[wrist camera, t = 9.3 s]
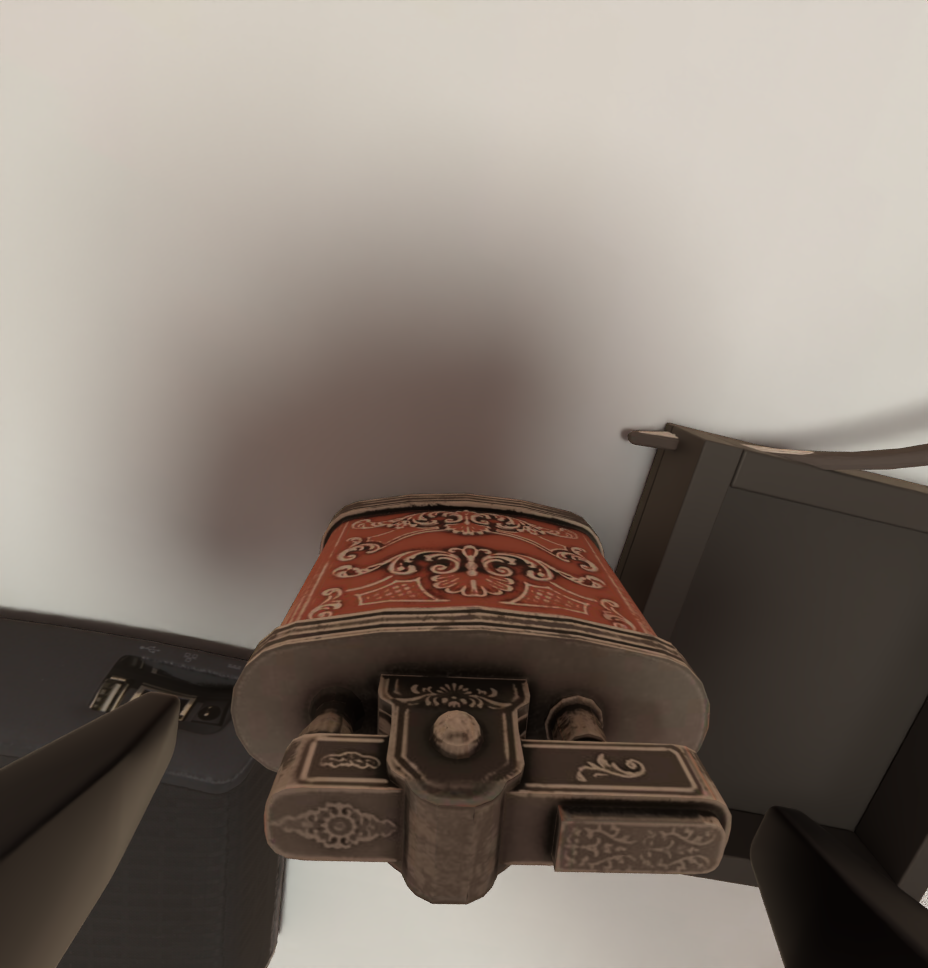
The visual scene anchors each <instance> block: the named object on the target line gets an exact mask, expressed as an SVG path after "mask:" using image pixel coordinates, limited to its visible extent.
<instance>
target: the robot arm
mask: <svg viewBox="0 0 928 968" xmlns="http://www.w3.org/2000/svg"><path fill="white" fill-rule="evenodd" d="M179 713H180V699H179V698H178V697H177V696H176V695H171V694H165V693H160V692H147V693H145V694H143V695H141V696H139V697H137V698H135V699H133V700H131V701H129V702H127V703H125V704H124V705H122V706H120V707H118V708H116V709H114V710H112V711H110V712H108V713H106V714H104V715H102V716H100V717H99V718H97V719H95V720H93V721H91V722H89V723H87V724H85V725H83V726H81V727H79V728H77V729H76V730H74V731H72V732H70V733H68V734H66V735H64V736H62V737H60V738H58V739H56V740H54V741H52V742H51V743H49V744H47V745H45V746H43V747H41V748H39V749H37V750H35V751H33V752H31V753H29V754H27V755H26V756H24V757H22V758H20V759H18V760H16V761H14V762H12V763H10V764H8V765H6V766H4V767H3V768H1V769H0V968H56V967H57V965H58V963H59V962H60V960H61V959H62V957H63V955H64V954H65V952H66V951H67V949H68V947H69V946H70V944H71V943H72V941H73V939H74V938H75V936H76V935H77V933H78V931H79V930H80V928H81V927H82V925H83V923H84V922H85V920H86V919H87V917H88V915H89V914H90V912H91V911H92V909H93V907H94V906H95V904H96V903H97V901H98V899H99V898H100V896H101V894H102V893H103V891H104V889H105V888H106V886H107V884H108V883H109V881H110V879H111V877H112V876H113V874H114V872H115V870H116V868H117V866H118V864H119V862H120V860H121V858H122V857H123V855H124V853H125V851H126V849H127V847H128V845H129V843H130V841H131V839H132V837H133V835H134V833H135V831H136V829H137V827H138V825H139V823H140V821H141V819H142V817H143V815H144V813H145V811H146V809H147V807H148V805H149V803H150V801H151V799H152V797H153V795H154V793H155V791H156V789H157V787H158V785H159V783H160V781H161V779H162V777H163V775H164V773H165V770H166V768H167V766H168V764H169V762H170V760H171V758H172V755H173V752H174V749H175V744H176V737H177V729H178V721H179ZM750 861H751V865H752V868H753V871H754V874H755V877H756V880H757V883H758V887H759V890H760V893H761V896H762V899H763V902H764V905H765V908H766V911H767V914H768V917H769V920H770V924H771V927H772V930H773V933H774V936H775V939H776V942H777V945H778V948H779V951H780V954H781V958H782V961H783V963H784V966H785V968H928V909H927V908H925V907H924V906H923V905H921V904H920V903H919V902H918V901H916V900H915V899H914V898H912V897H911V896H910V895H909V894H907V893H906V892H905V891H903V890H902V889H901V888H900V887H898V886H897V885H896V884H894V883H893V882H892V881H891V880H889V879H888V878H887V877H885V876H884V875H883V874H882V873H880V872H879V871H878V870H876V869H875V868H874V867H873V866H871V865H870V864H869V863H867V862H866V861H865V860H864V859H862V858H861V857H860V856H858V855H857V854H856V853H855V852H853V851H852V850H851V849H849V848H848V847H847V846H846V845H844V844H843V843H842V842H840V841H839V840H838V839H837V838H835V837H834V836H833V835H831V834H830V833H829V832H828V831H826V830H825V829H824V828H822V827H821V826H820V825H819V824H817V823H816V822H815V821H813V820H812V819H811V818H810V817H808V816H807V815H806V814H804V813H803V812H801V811H799V810H797V809H793V808H787V807H782V806H772V807H771V808H769V809H768V810H767V812H766V813H765V815H764V818H763V820H762V822H761V824H760V826H759V828H758V830H757V832H756V834H755V836H754V838H753V840H752V843H751V846H750Z"/></svg>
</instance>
